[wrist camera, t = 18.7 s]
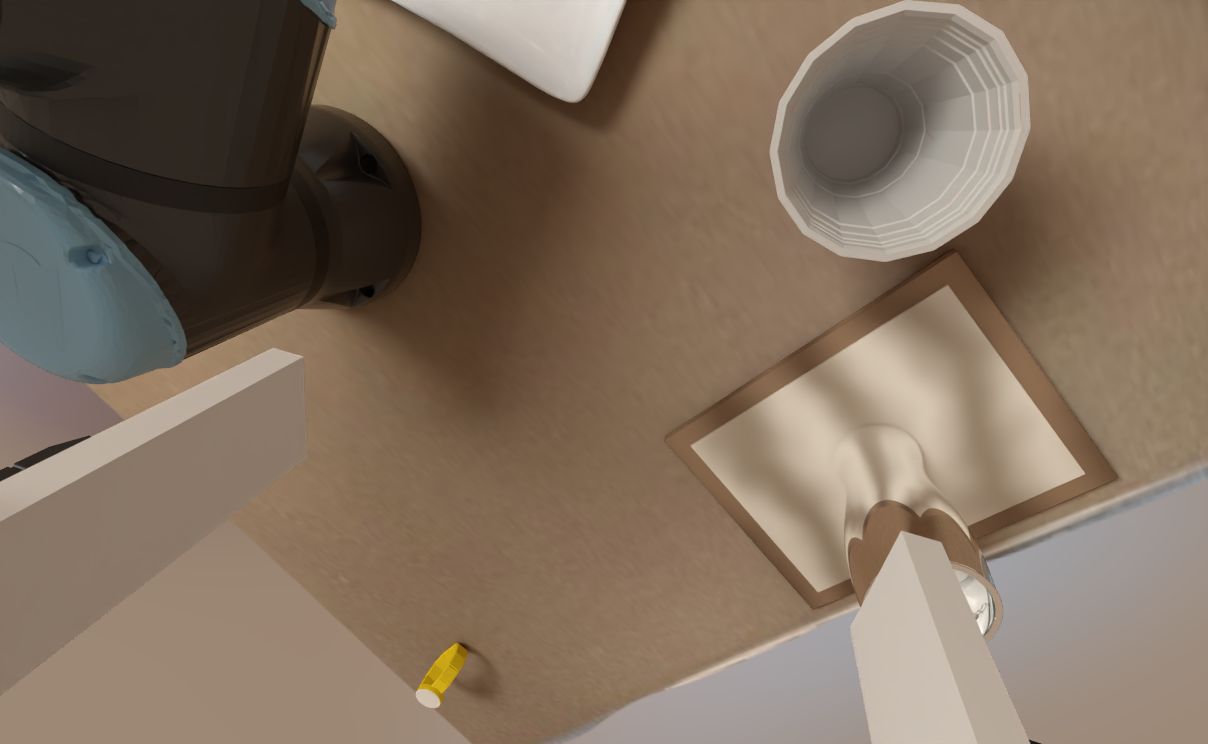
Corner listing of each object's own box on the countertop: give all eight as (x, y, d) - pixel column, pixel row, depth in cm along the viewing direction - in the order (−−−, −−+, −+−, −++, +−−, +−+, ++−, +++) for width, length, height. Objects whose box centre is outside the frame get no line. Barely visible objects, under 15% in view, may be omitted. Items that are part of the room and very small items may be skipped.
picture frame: (811, 602, 51) (813, 611, 50) (665, 436, 48) (664, 442, 47) (1112, 471, 41) (1120, 479, 40) (952, 248, 38) (957, 252, 37)
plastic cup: (976, 173, 36) (1070, 198, 25) (801, 249, 40) (820, 299, 29) (918, -8, 33) (997, -65, 23) (737, 93, 37) (731, 86, 27)
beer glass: (926, 499, 44) (1002, 668, 31) (827, 499, 46) (857, 658, 32) (930, 416, 42) (1015, 560, 28) (825, 419, 43) (857, 556, 30)
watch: (451, 667, 66) (422, 717, 61) (432, 651, 66) (402, 700, 61) (479, 648, 63) (452, 698, 58) (460, 631, 63) (431, 681, 58)
